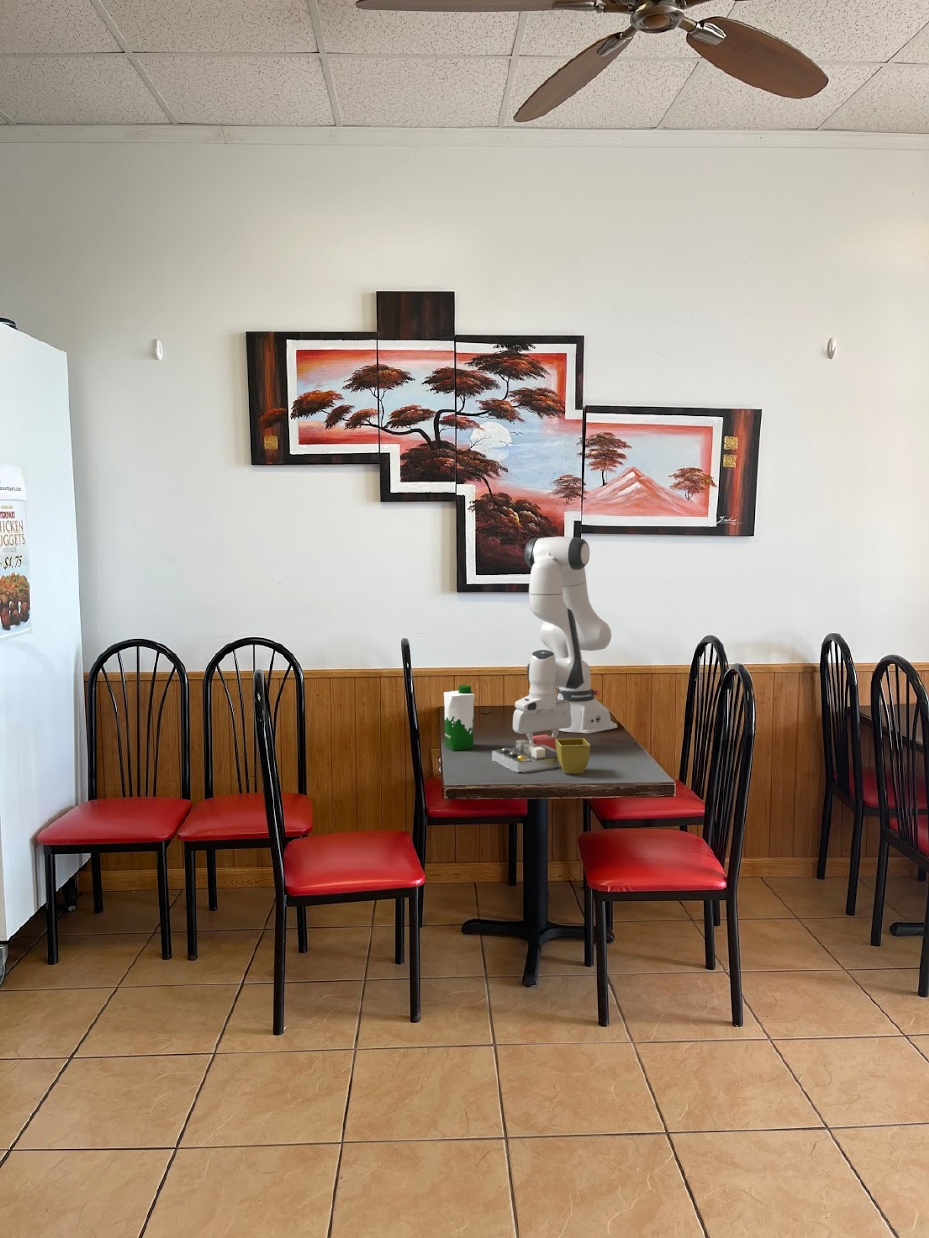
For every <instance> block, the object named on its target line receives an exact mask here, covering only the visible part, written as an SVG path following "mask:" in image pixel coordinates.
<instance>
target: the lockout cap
mask: <svg viewBox="0 0 929 1238" xmlns="http://www.w3.org/2000/svg"><path fill="white" fill-rule="evenodd" d="M531 736H532V738H533V739H534V740H536V745H541V744H543V745H545V746H548V747H550V748H553V749H555V750H556V739H557V737H556V738H553V737H551V736H552V735H551V736H550V735H547V734H539V735H531Z"/></svg>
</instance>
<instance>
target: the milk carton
mask: <svg viewBox="0 0 929 1238" xmlns="http://www.w3.org/2000/svg"><path fill="white" fill-rule="evenodd" d="M475 695H476V694H475V693H473V692H472V686H471V685H468V684H464V685H463V684H462V685H461V684H460V685H458V690H451V691H444V692H443V703H444V704H443V705H444V743H445V745H444V746H445V747H446V748H447V749H450V750H451V751H453V752H459V751H464V750H473V749H474V748H475V747H474V741H475V740H474V739H475V738H474V706H475V705H474V703H475Z"/></svg>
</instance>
